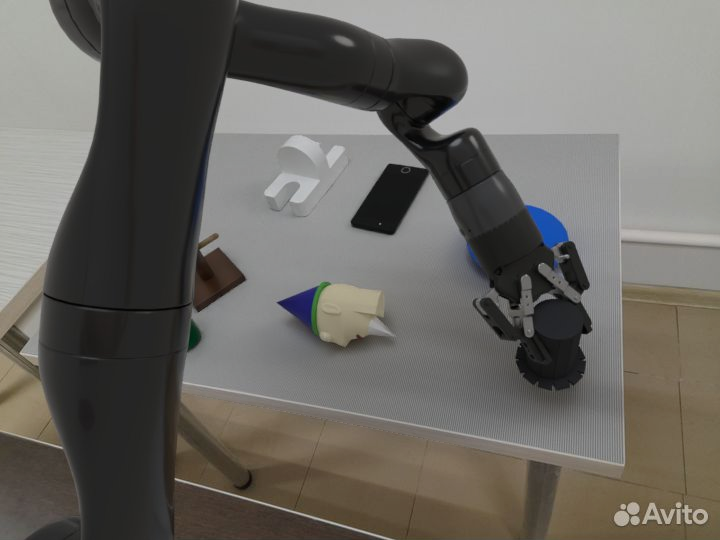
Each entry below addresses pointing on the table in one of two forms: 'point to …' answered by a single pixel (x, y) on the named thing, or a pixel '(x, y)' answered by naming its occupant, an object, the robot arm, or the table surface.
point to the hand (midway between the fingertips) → (565, 346)
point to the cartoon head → (339, 312)
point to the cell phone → (389, 198)
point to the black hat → (555, 346)
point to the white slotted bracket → (304, 174)
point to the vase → (544, 228)
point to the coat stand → (214, 275)
